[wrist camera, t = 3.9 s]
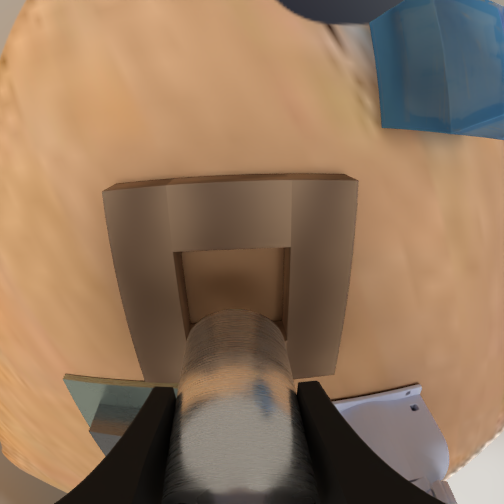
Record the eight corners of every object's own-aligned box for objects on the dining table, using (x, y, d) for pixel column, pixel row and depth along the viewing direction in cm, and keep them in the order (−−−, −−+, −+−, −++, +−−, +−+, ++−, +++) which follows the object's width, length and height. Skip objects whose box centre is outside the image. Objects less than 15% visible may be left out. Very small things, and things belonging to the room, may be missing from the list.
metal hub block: (268, 380, 21) (273, 419, 17) (266, 475, 27) (269, 502, 23) (65, 374, 20) (49, 405, 17) (123, 470, 26) (117, 495, 23)
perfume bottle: (381, 127, 15) (578, 161, 4) (369, 22, 12) (530, -59, 1) (463, 132, 15) (627, 174, 4) (454, 40, 12) (608, 20, 1)
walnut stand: (344, 174, 16) (358, 180, 14) (326, 354, 20) (334, 374, 18) (116, 183, 15) (101, 191, 13) (151, 362, 20) (145, 382, 18)
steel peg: (286, 306, 12) (332, 475, 5) (283, 381, 13) (309, 524, 7) (179, 310, 11) (141, 480, 5) (193, 384, 13) (179, 528, 6)
